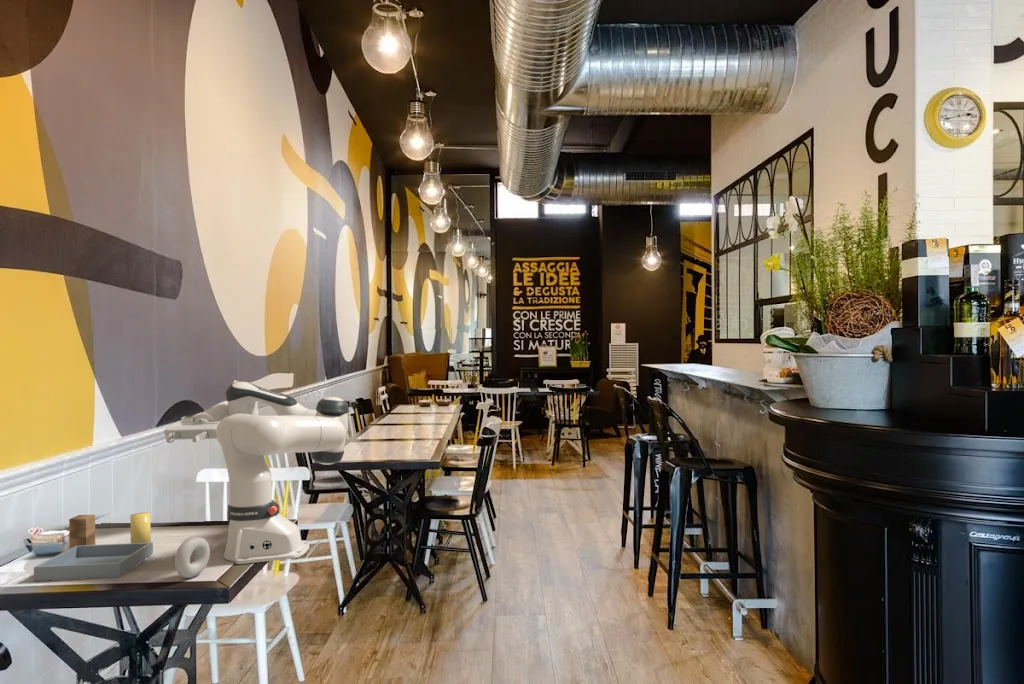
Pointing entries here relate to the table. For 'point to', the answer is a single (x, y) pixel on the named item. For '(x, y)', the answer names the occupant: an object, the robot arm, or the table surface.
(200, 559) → the donut
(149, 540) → the mustard cylinder
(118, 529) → the table surface
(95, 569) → the tray
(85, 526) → the walnut block
